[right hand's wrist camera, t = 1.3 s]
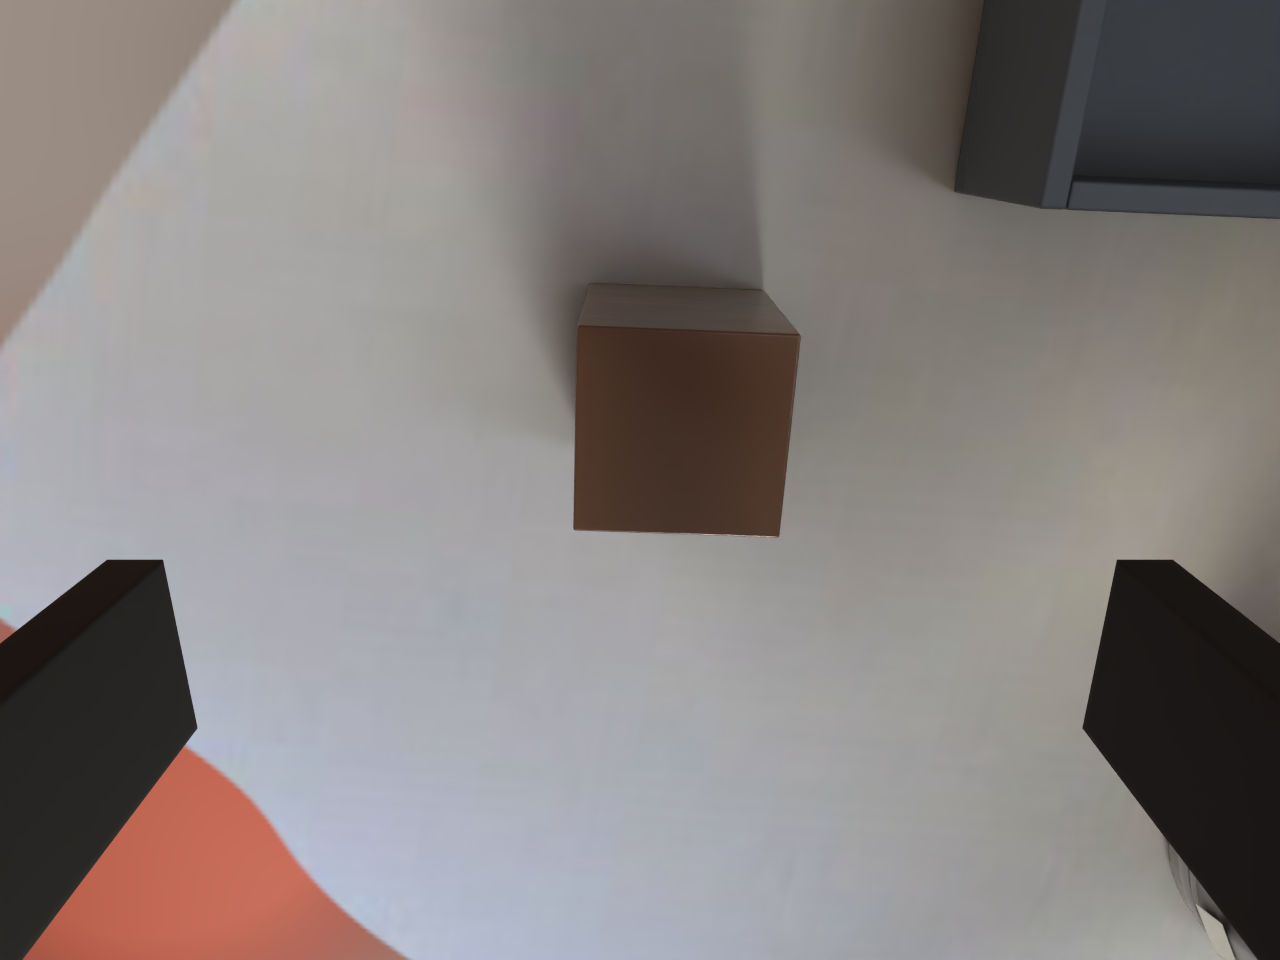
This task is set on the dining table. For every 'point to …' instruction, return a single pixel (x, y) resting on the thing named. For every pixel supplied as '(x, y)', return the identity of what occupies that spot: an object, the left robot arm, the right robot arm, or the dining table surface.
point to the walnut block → (682, 410)
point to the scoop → (1127, 107)
